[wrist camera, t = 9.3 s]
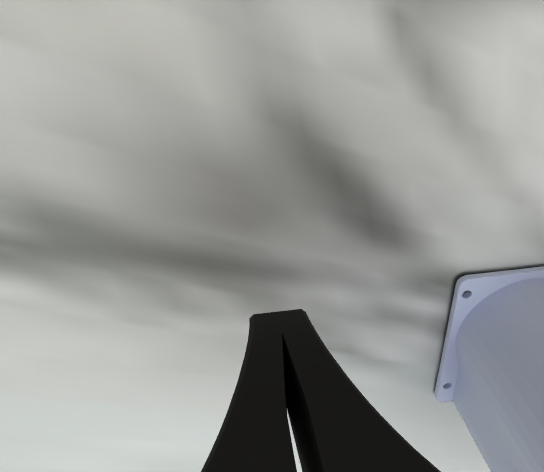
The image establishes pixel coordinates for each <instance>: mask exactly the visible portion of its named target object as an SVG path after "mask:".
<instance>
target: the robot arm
mask: <svg viewBox="0 0 544 472" xmlns="http://www.w3.org/2000/svg"><path fill="white" fill-rule="evenodd" d="M465 291H467V292H466V293H464V292H465ZM435 397H436V399H437V400H438V401H440V402H447V401H453V402H454V404H455V405H456V407H457V409H458V411H459V413H460V415H461V417H462V418H463V420H464V422H465V424H466V426H467V428H468V430H469V431H470V433H471V435H472V437H473V439H474V441H475V443H476V444H477V446H478V448H479V450H480V452H481V454H482V456H483V457H484V459H485V461H486V463H487V465H488V467H489V469H490V470H491V472H544V266H543V267H534V268H525V269H516V270H507V271H498V272H490V273H481V274H472V275H465V276H462V277H461V278H459V279H458V281H457V283H456V286H455V291H454V297H453V302H452V307H451V312H450V317H449V322H448V327H447V332H446V337H445V343H444V348H443V353H442V358H441V363H440V368H439V373H438V378H437V383H436V388H435ZM287 410H288V414H289V418H290V422H291V426H292V430H293V435H294V439H295V443H296V447H297V451H298V455H299V459H300V463H301V467H302V471H303V472H441V471H439V470H438V469H437V468H436V467H435V466H434V465H432V464H431V463H430V462H429V461H428V460H427V459H426V458H424V457H423V456H422V455H421V454H420V453H419V452H418V451H416V450H415V449H414V448H413V447H412V446H411V445H410V444H409V443H408V442H407V441H406V440H405V439H404V438H403V437H402V436H401V435H400V434H399V433H398V432H397V431H396V430H395V429H394V428H393V427H392V426H391V425H390V424H389V423H388V422H387V421H386V420H385V419H384V418H383V417H382V416H381V415H380V414H379V413H378V412H377V411H376V409H375V408H374V407H373V406H372V405H371V404H370V403H369V402H368V401H367V399H366V398H365V397H364V396H363V395H362V393H361V392H360V391H359V390H358V389H357V388H356V386H355V385H354V384H353V383H352V381H351V380H350V379H349V378H348V376H347V375H346V374H345V373H344V371H343V370H342V368H341V367H340V366H339V364H338V363H337V362H336V360H335V359H334V358H333V356H332V355H331V353H330V352H329V351H328V349H327V348H326V346H325V345H324V343H323V342H322V340H321V339H320V337H319V335H318V334H317V332H316V331H315V329H314V327H313V325H312V324H311V322H310V320H309V318H308V316H307V314H306V312H305V311H303V310H302V309H297V310H289V311H280V312H271V313H262V314H254V315H253V316H252V317H251V318H250V327H249V336H248V343H247V348H246V352H245V357H244V361H243V364H242V368H241V372H240V375H239V379H238V382H237V386H236V389H235V391H234V394H233V397H232V400H231V403H230V406H229V409H228V412H227V414H226V417H225V419H224V422H223V424H222V427H221V429H220V432H219V434H218V436H217V439H216V441H215V443H214V445H213V448H212V450H211V452H210V454H209V456H208V458H207V461H206V463H205V465H204V467H203V469H202V471H201V472H297V470H296V464H295V459H294V453H293V447H292V442H291V436H290V430H289V424H288V418H287Z"/></svg>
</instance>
